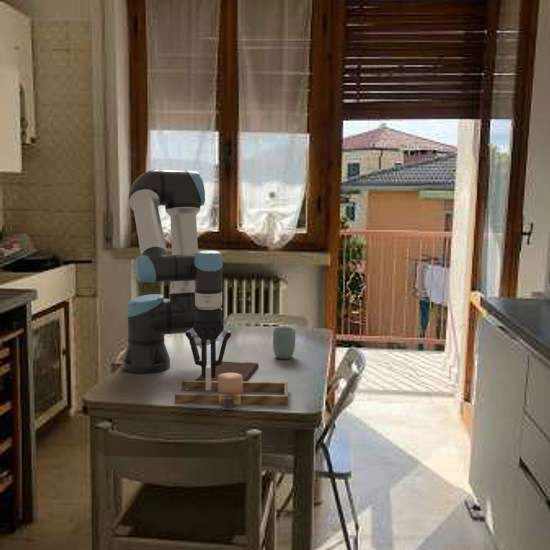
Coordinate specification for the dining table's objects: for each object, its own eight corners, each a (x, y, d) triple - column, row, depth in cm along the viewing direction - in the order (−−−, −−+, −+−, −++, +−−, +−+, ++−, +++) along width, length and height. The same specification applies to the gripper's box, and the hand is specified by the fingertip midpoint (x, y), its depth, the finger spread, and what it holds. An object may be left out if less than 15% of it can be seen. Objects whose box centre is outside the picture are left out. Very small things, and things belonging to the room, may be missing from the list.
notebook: (195, 384, 183) (195, 377, 183) (214, 365, 202) (214, 359, 202) (243, 388, 180) (243, 381, 180) (258, 368, 199) (258, 362, 199)
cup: (292, 361, 206) (293, 332, 205) (270, 359, 208) (270, 331, 206) (296, 355, 214) (297, 327, 212) (275, 353, 215) (275, 326, 214)
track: (173, 406, 163) (173, 397, 163) (181, 388, 177) (181, 380, 177) (288, 408, 163) (288, 399, 162) (287, 390, 177) (287, 382, 177)
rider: (216, 401, 168) (216, 380, 167) (218, 392, 175) (218, 372, 174) (241, 401, 168) (241, 380, 167) (243, 392, 175) (243, 372, 174)
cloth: (214, 350, 221) (214, 344, 221) (177, 349, 222) (177, 343, 222) (226, 333, 247) (226, 327, 246) (192, 332, 248) (192, 326, 247)
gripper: (183, 309, 164) (183, 392, 167) (231, 310, 164) (230, 393, 168) (186, 303, 171) (187, 383, 175) (232, 304, 171) (232, 384, 175)
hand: (208, 388), depth 171 cm, fingers closed
